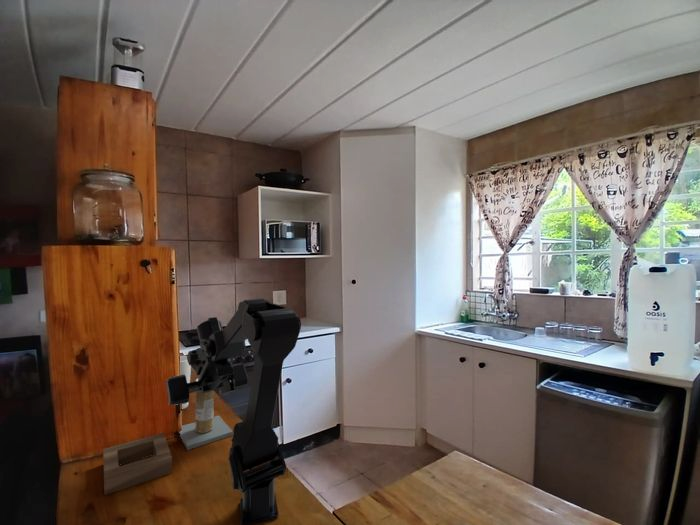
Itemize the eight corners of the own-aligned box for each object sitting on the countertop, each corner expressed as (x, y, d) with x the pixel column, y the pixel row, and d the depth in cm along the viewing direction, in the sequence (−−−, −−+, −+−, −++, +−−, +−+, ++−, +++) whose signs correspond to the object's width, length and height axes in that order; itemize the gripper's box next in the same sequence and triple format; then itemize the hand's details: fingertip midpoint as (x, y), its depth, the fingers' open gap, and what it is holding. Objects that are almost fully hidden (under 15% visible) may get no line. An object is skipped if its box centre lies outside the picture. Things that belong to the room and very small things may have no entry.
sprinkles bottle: (191, 429, 91) (192, 378, 91) (208, 423, 95) (208, 374, 94) (200, 436, 88) (200, 383, 88) (217, 429, 92) (217, 378, 91)
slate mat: (232, 435, 91) (232, 431, 91) (187, 450, 84) (187, 446, 84) (218, 418, 99) (218, 415, 99) (176, 431, 93) (176, 427, 93)
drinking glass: (181, 413, 102) (180, 363, 102) (161, 411, 104) (160, 361, 103) (195, 403, 109) (195, 356, 108) (176, 401, 110) (176, 354, 110)
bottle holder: (172, 472, 76) (172, 457, 75) (104, 495, 69) (104, 477, 68) (163, 446, 85) (163, 432, 85) (103, 464, 78) (103, 448, 78)
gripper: (244, 333, 93) (229, 363, 103) (167, 345, 82) (158, 377, 91) (256, 371, 88) (240, 399, 97) (175, 389, 76) (165, 419, 85)
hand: (202, 397), depth 92 cm, fingers open, 9 cm apart
